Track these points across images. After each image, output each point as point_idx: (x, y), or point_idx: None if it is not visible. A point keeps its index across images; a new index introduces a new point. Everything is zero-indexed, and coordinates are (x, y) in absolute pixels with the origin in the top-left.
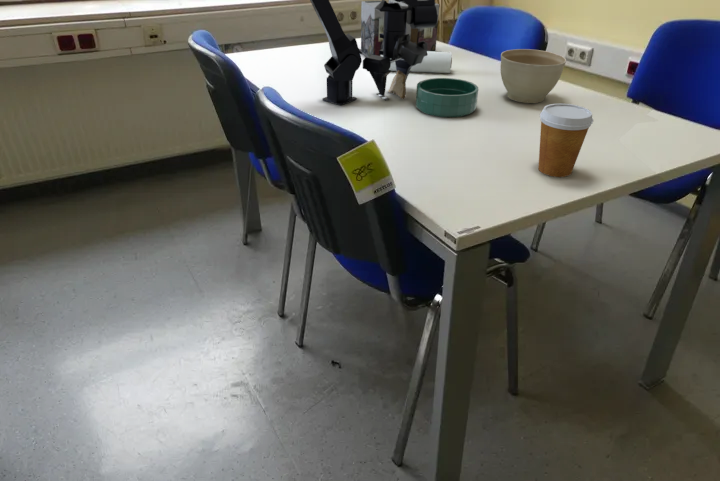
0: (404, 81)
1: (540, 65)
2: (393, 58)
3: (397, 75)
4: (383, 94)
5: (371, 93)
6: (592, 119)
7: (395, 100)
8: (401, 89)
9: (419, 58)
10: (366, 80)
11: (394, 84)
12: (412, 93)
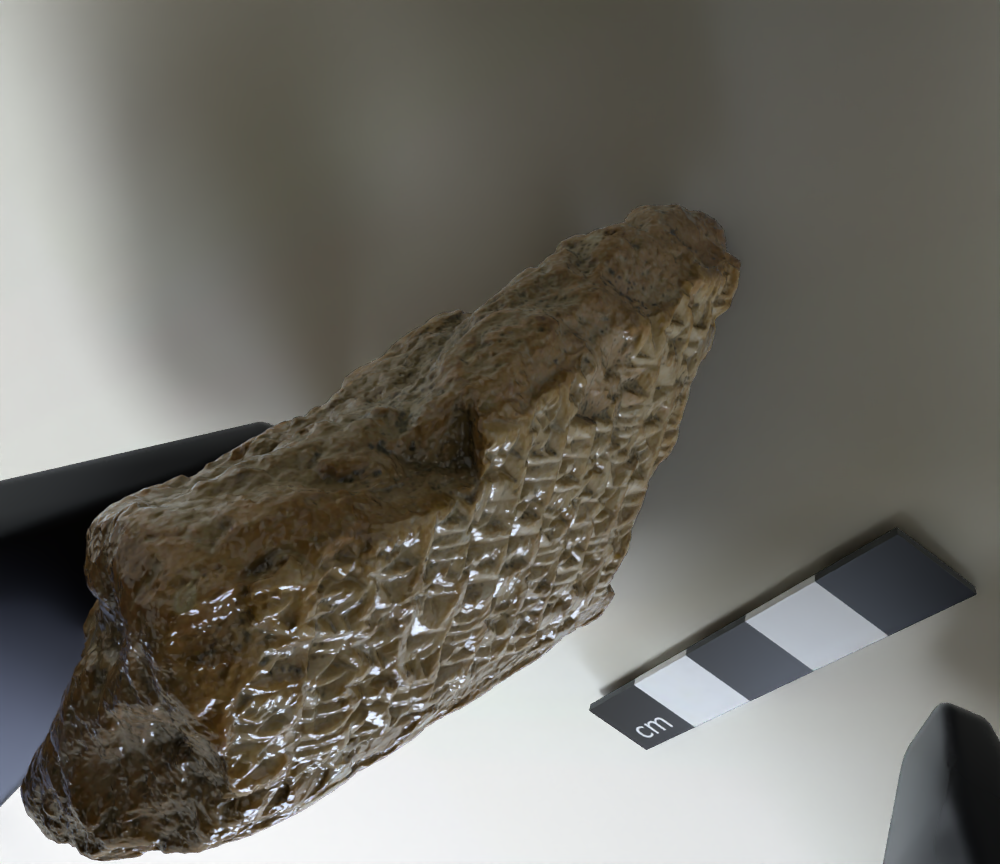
0: (372, 464)
1: None
2: None
3: (298, 799)
4: (992, 736)
5: (637, 794)
6: None
7: (849, 384)
8: (596, 403)
9: None
10: None
11: (519, 651)
12: (256, 213)
